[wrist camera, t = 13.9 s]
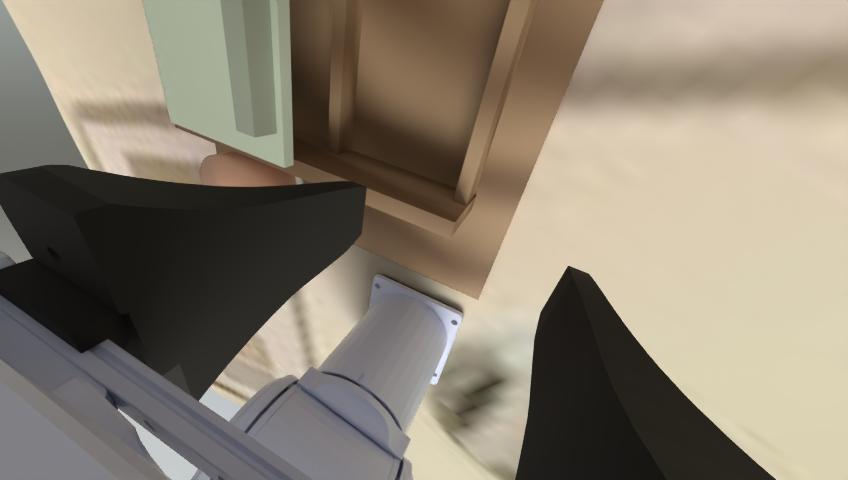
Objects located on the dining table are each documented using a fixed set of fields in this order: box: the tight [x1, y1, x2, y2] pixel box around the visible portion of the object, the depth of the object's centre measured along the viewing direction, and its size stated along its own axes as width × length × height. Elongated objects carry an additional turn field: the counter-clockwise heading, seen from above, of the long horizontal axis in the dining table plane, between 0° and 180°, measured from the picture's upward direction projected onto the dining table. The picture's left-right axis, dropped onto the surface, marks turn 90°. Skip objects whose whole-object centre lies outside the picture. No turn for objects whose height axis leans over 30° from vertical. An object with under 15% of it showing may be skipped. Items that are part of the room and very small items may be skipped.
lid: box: [142, 0, 294, 168], centre depth 15 cm, size 12×9×2 cm
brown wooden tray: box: [175, 0, 604, 300], centre depth 18 cm, size 20×25×5 cm
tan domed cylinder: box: [200, 151, 296, 187], centre depth 23 cm, size 5×5×4 cm
